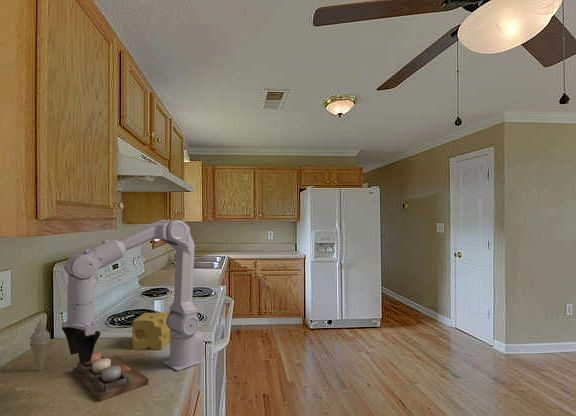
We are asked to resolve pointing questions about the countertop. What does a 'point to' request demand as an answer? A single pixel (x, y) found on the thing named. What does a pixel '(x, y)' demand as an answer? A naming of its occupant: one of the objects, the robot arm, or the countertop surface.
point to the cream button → (101, 365)
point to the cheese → (150, 331)
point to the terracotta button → (94, 358)
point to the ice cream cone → (40, 344)
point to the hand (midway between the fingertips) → (80, 357)
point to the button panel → (110, 388)
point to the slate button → (111, 373)
